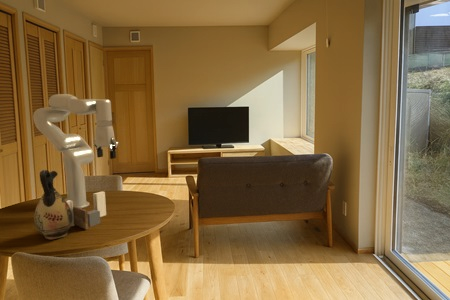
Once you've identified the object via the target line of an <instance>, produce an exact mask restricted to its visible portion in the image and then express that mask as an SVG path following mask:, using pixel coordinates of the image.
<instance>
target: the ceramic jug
mask: <svg viewBox="0 0 450 300" xmlns="http://www.w3.org/2000/svg"><path fill="white" fill-rule="evenodd" d="M57 176H58V172H57V171H56V170H52V171H49V170H46V169H42V170H41V171H40V172H39V179H40V180H39V181H40V184H41V187H42V189H43V194H42V195H41V197H40V199H39V201H38V203H37V204H36V206H35V210H34V211H35V212H34V215H33V216H34V218H33V219H34V225H35V228H36V229H37V231H39V232H40V233H41V234H42V235H43V236H44V238H45V239H46V240H56V239H60V238H64V237H66V236H67V235H69V234H68V231H69V230H70V228H71V227H72V226H71V224H72V221H73V215H72V212H71V209H70V207H69V205H68V203H67V202H66V201H65V199H66V198H64V197H63V196H62V195H61V193H59V192H58V191H57V190H56V188H55V187H54V179H56V177H57Z"/></svg>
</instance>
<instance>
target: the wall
mask: <svg viewBox="0 0 450 300" xmlns="http://www.w3.org/2000/svg"><path fill="white" fill-rule="evenodd" d="M92 197H93V198H92V199H93V210H97V211H100V218H102V217H104V216H107V206H106V204H107V203H106V202H107V201H106V192H105V191H99V192H95V193H92ZM66 202H67V203H68V205H69V207H70V209H71V212H72V215H73V221H72V224H71V227H74V226H75V224H74V214H73V201H71V200H68V201H66Z"/></svg>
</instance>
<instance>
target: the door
mask: <svg viewBox="0 0 450 300" xmlns="http://www.w3.org/2000/svg"><path fill="white" fill-rule="evenodd" d="M87 212H88V210H87V209H85V208H79V207H76V206H73V214H74V226H77V227H79V228H82V229H84V230H89V226H88V215H87Z"/></svg>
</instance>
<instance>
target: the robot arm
mask: <svg viewBox="0 0 450 300" xmlns="http://www.w3.org/2000/svg"><path fill="white" fill-rule="evenodd" d="M48 105H49V106H48V107H47V106H46V107H40V108H37V109H35V111H34V113H33V115H32V119H33V123H34V125H35V127H36V129H37V130H38V131H39V132H40V133H41V134H42V135H44V136H45V138H46V139H47V140H48V141H49V143H50V144H51V145H52V146H53V147H54V148H55V150H56V151H57V152H59V153H62V156H61V158H62V163H63V166H64V170H65V171H64V172H65V173H64V174H65V182H66V183H65V184H66V185H65V186H66V194H67V196H66V198H64V199H65V201H68V200H71V201H73V206H76V207H79V208H82V209H85V208H87V207H89V206H90V202H89V201H87V193H86V192H87V191H86V179H85V172H84V170H83V168H82V167H81V166H83V165H88V164H91V163H92V162H93V161H94V160H95V153H94V150H93V149H92V147H91V146H90V145H89V144H88V143H87V141H86V140H85V139H84V138H83V137H82V136H81V135H80V134H78V133H65V132H63V130H61V128H60V127H59V126H57V125H55V124H54V123H59V122H63V121H65V120H66V119H67V118H68V117H69V116H70V114H73V115H74V114H75V115H80V116H81V115H83V116H85V115H95V121H96V127H95V133H94V134H95V135H94V138H95V139H94V140H93V144H94V147H95V150H96V154H97V158H103V157H104V152H103V151H104V150H103V148H109V158H110V159H111V160H113V159H116V158H117V154H116V153H117V152H116V151H117V149H118V147H119V146H118V145H119V142H118V141H117V140H116V138H115V131H114V127H113V118H112V117H113V116H112V114H113V113H112V102H111V100H110V99H108V98H107V99H105V98H104V99H103V98H102V99H100V98H99V99H98V98H85V99H80V98H79V99H78V97H77V96H75V95H73V94H70V93H63V94H62V93H59V94H58V93H56V94H53V95H51V96H50V97H49V98H48Z"/></svg>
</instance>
